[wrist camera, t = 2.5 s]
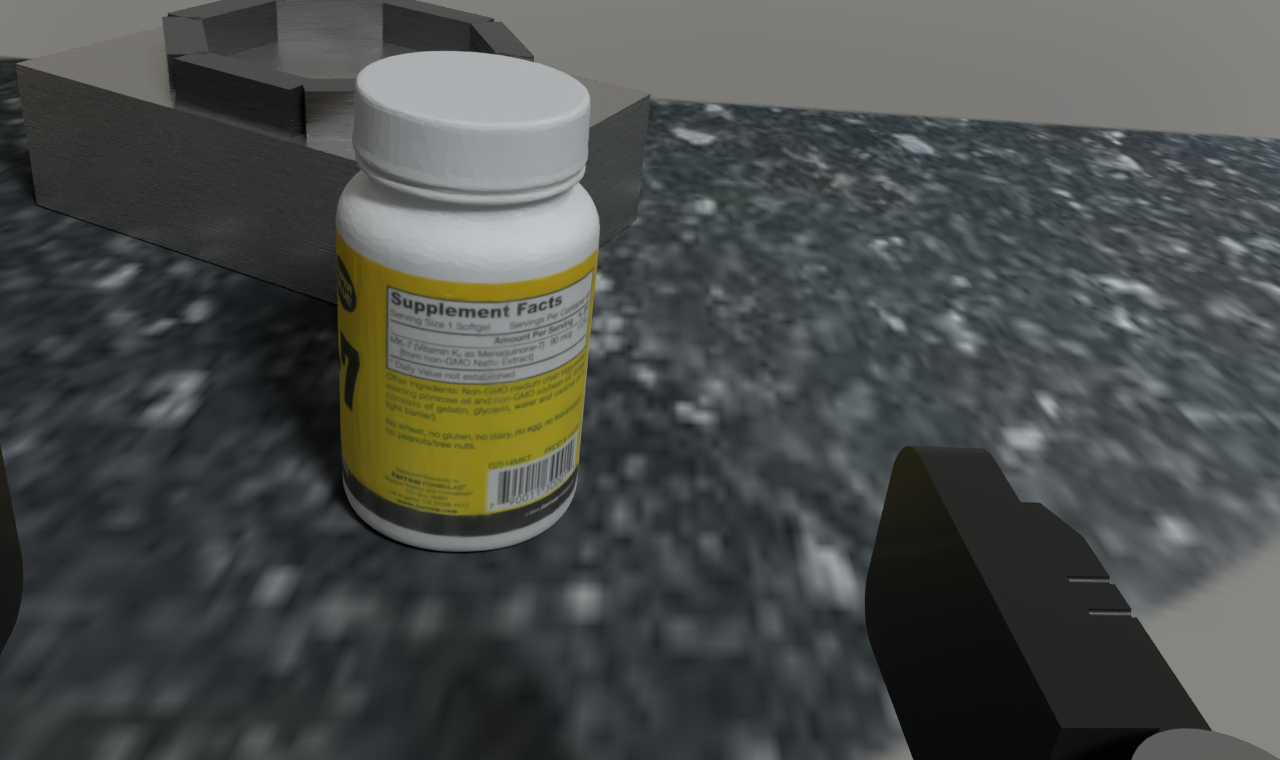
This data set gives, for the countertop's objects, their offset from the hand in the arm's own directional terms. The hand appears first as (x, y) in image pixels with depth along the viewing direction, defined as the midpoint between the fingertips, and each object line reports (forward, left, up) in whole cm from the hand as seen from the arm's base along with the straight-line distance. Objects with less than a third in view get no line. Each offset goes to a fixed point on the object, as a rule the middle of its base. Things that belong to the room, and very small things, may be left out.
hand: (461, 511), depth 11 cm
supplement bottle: (-6, +10, -8) cm, 14 cm away
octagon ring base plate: (-16, +20, -8) cm, 27 cm away
